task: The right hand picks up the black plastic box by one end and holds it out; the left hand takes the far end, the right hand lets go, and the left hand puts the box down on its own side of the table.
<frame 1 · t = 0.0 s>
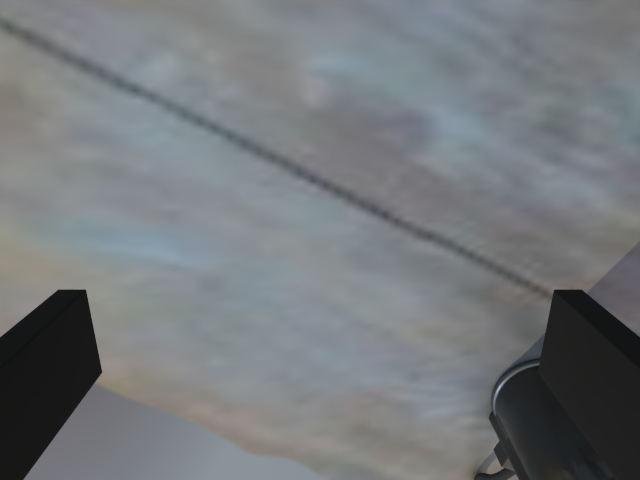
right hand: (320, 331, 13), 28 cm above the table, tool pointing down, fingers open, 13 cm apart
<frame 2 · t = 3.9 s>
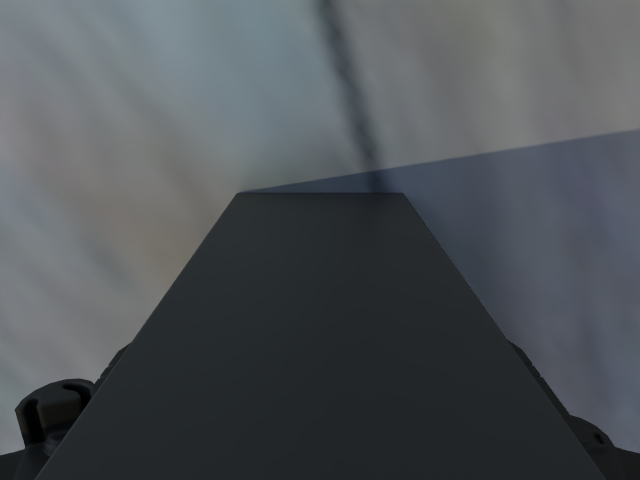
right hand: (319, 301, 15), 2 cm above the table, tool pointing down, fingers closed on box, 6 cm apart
box: (320, 433, 19), on the table, touching right hand
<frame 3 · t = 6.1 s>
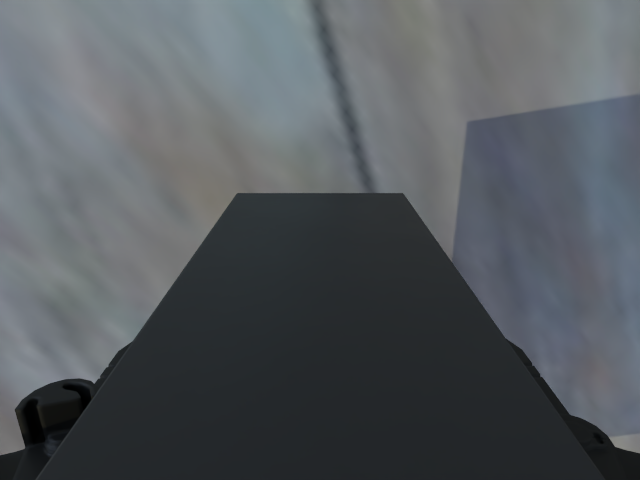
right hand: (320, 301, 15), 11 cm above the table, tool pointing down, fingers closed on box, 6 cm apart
box: (320, 433, 19), point 8 cm above the table, touching right hand
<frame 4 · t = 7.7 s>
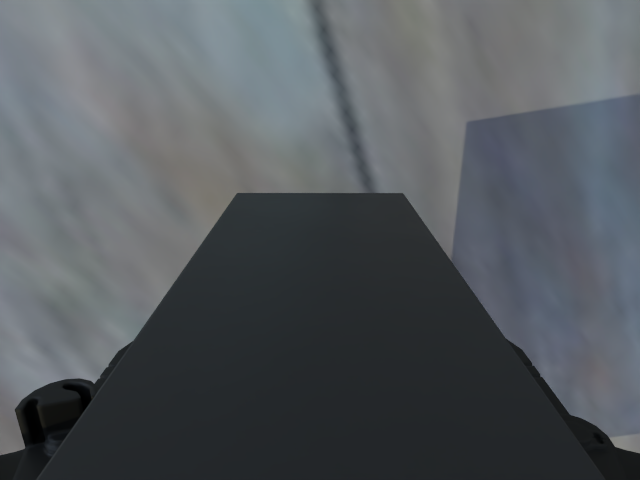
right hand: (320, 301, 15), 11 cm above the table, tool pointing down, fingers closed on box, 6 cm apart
box: (319, 433, 19), point 8 cm above the table, touching right hand, left hand
when the right hand's fingers open (11 cm above the table, at t = 8.7 s): box stays where it is, held by the left hand.
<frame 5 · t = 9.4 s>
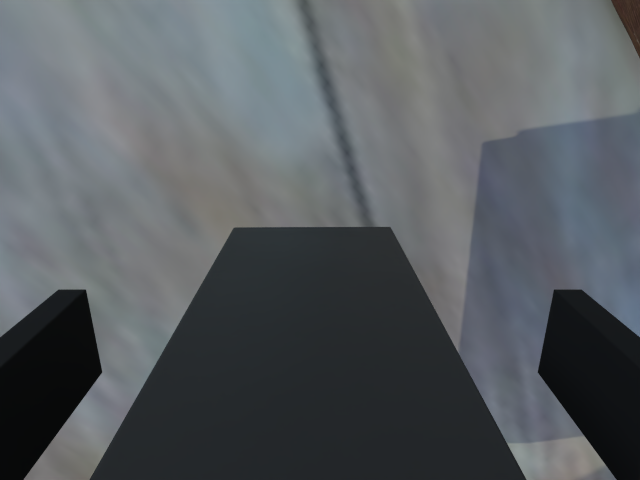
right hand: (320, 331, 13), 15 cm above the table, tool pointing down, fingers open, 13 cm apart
box: (313, 454, 20), point 10 cm above the table, touching left hand
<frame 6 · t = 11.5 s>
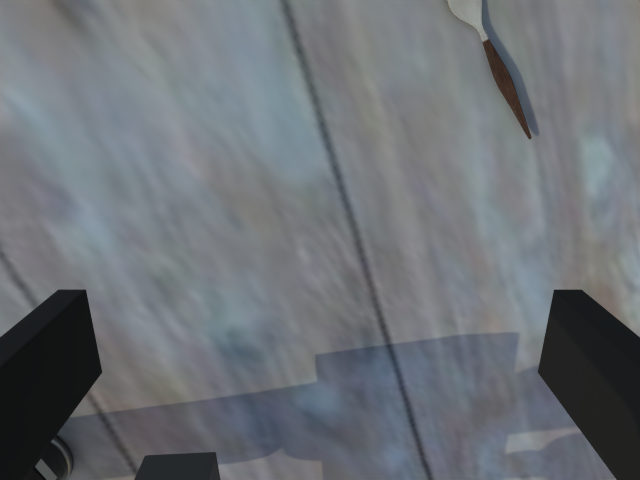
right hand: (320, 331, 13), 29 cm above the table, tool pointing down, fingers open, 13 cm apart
fork: (488, 53, 37), on the table
when the left hand's fingers open (9 cm above the table, at t = 15.7 s): box drops 1 cm, on the table.
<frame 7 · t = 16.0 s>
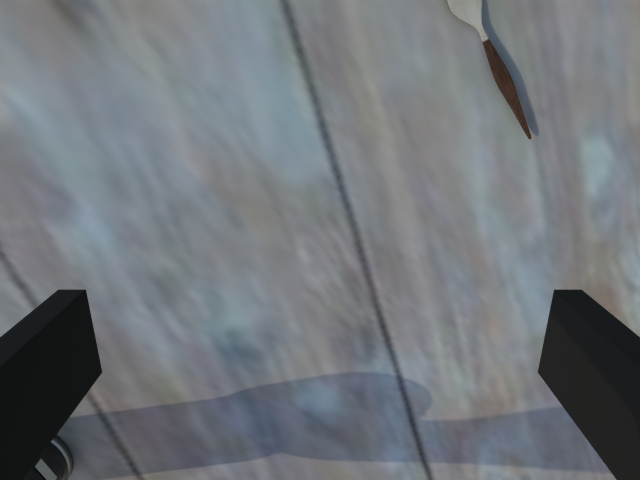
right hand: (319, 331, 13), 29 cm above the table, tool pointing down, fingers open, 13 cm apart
fork: (488, 53, 37), on the table
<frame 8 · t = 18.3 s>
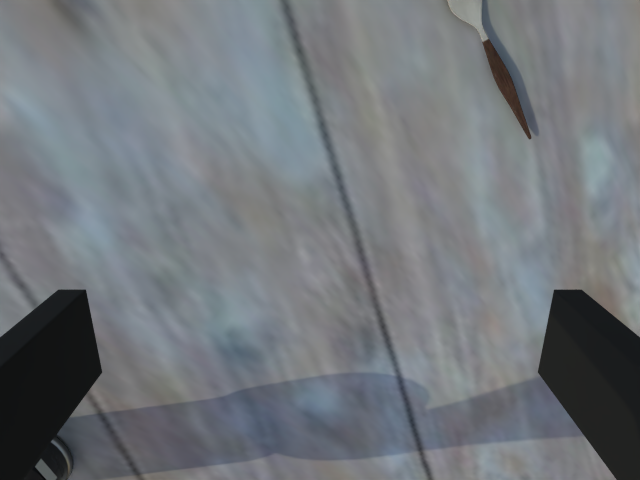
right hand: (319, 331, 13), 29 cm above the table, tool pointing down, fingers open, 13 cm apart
fork: (488, 53, 37), on the table
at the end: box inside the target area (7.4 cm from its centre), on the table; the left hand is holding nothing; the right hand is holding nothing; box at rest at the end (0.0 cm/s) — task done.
